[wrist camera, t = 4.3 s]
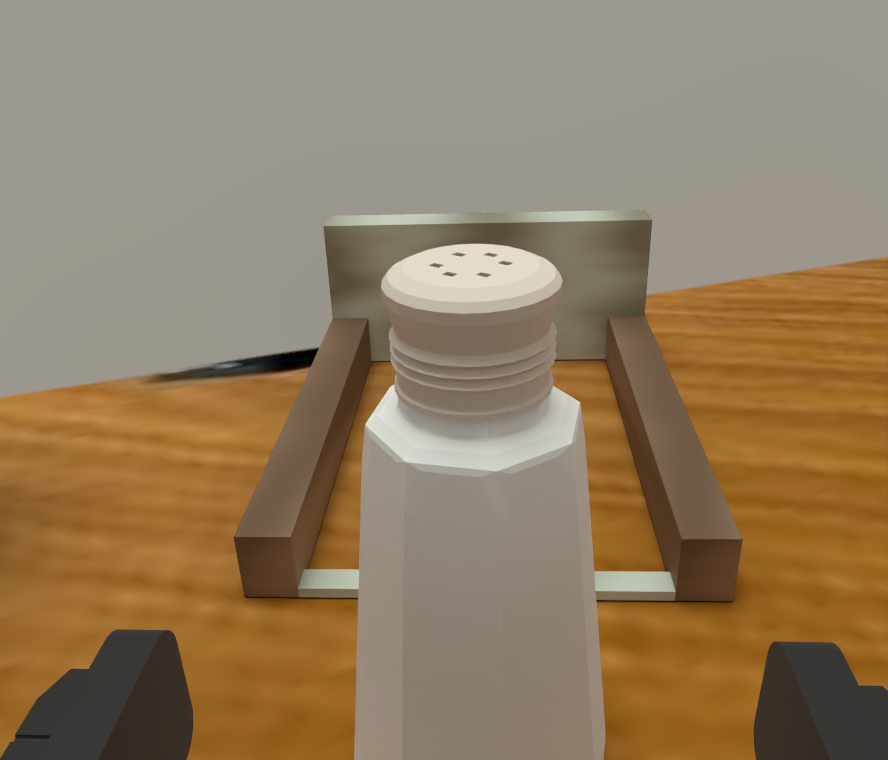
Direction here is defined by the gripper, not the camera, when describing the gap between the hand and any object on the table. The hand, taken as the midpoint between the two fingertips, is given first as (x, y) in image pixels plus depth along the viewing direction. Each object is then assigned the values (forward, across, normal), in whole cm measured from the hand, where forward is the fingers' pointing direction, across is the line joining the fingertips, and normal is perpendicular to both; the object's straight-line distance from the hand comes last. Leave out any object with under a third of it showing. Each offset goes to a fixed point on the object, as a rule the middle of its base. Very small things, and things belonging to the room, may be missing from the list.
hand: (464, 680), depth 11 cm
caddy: (+17, 0, +6) cm, 18 cm away
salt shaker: (+4, 0, +7) cm, 8 cm away
